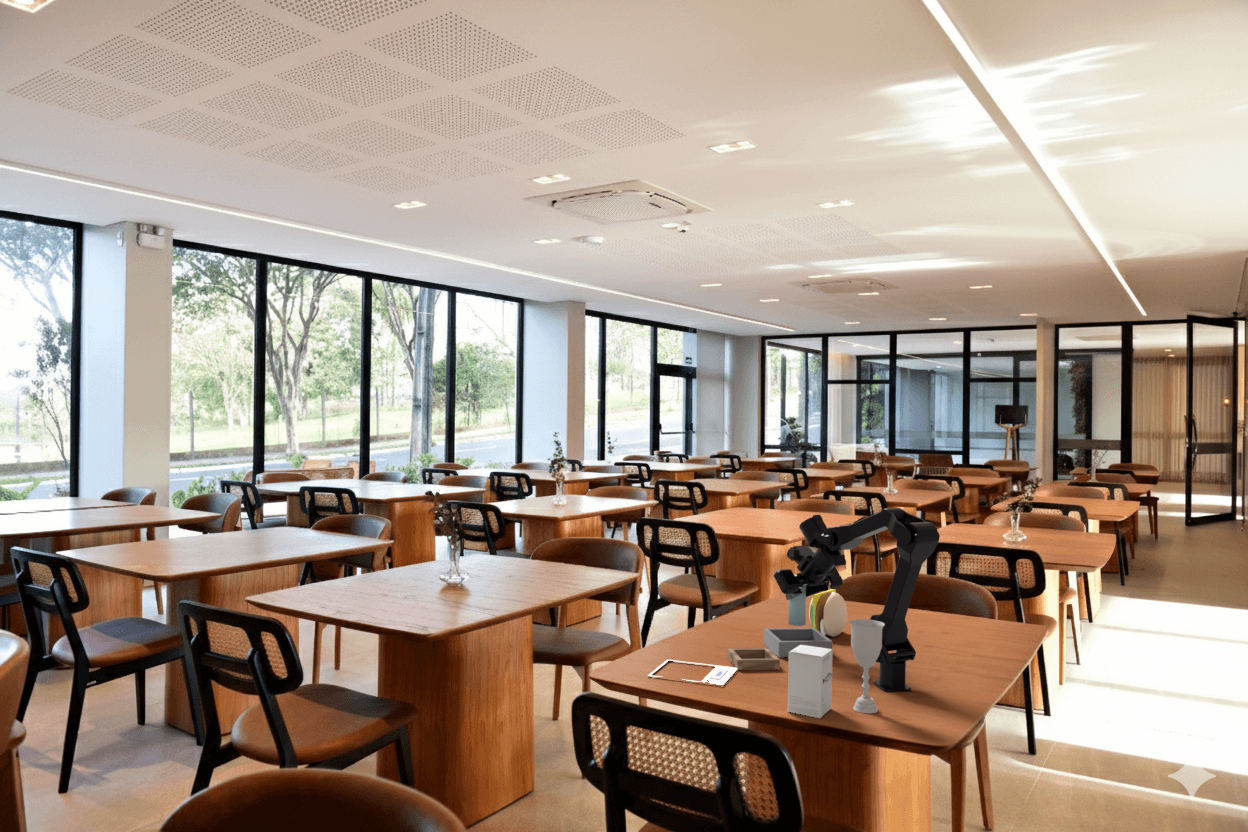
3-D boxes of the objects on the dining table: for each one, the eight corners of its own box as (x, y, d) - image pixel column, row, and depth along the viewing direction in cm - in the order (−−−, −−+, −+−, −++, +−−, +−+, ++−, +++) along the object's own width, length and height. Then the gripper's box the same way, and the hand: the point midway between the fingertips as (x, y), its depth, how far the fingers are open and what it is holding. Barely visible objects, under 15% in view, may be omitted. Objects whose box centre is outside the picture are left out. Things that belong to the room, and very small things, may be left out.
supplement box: (821, 719, 174) (822, 656, 174) (786, 712, 178) (787, 651, 178) (832, 709, 181) (833, 648, 181) (798, 702, 184) (799, 643, 184)
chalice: (877, 703, 184) (878, 619, 184) (888, 714, 177) (889, 627, 177) (843, 703, 184) (844, 619, 184) (852, 714, 177) (854, 626, 177)
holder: (779, 669, 208) (779, 659, 208) (737, 670, 207) (737, 660, 207) (767, 657, 219) (767, 648, 219) (727, 658, 217) (727, 648, 217)
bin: (832, 657, 220) (832, 641, 220) (778, 657, 219) (778, 642, 219) (814, 642, 234) (814, 627, 234) (763, 643, 233) (763, 628, 233)
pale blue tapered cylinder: (803, 626, 223) (803, 578, 223) (786, 624, 225) (786, 576, 225) (807, 623, 227) (807, 575, 227) (790, 621, 229) (791, 574, 229)
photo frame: (722, 684, 194) (647, 674, 201) (722, 689, 194) (647, 679, 201) (738, 667, 208) (667, 658, 214) (738, 671, 208) (667, 663, 214)
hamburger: (832, 641, 236) (832, 597, 236) (805, 636, 241) (805, 593, 241) (852, 634, 245) (852, 591, 245) (825, 628, 250) (826, 587, 250)
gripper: (835, 534, 227) (808, 570, 237) (778, 538, 219) (752, 575, 228) (856, 569, 220) (827, 604, 230) (798, 574, 212) (770, 610, 221)
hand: (794, 597), depth 228 cm, fingers closed on pale blue tapered cylinder, 4 cm apart
